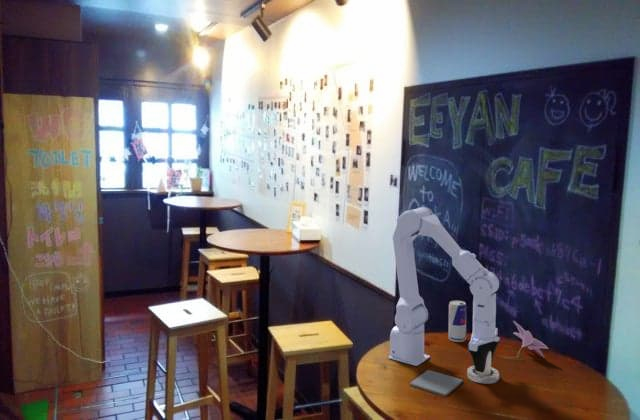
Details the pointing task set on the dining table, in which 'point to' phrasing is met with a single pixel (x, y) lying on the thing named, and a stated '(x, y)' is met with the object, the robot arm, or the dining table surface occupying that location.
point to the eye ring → (483, 379)
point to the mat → (436, 382)
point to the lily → (529, 340)
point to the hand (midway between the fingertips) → (483, 368)
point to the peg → (486, 367)
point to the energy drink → (457, 321)
